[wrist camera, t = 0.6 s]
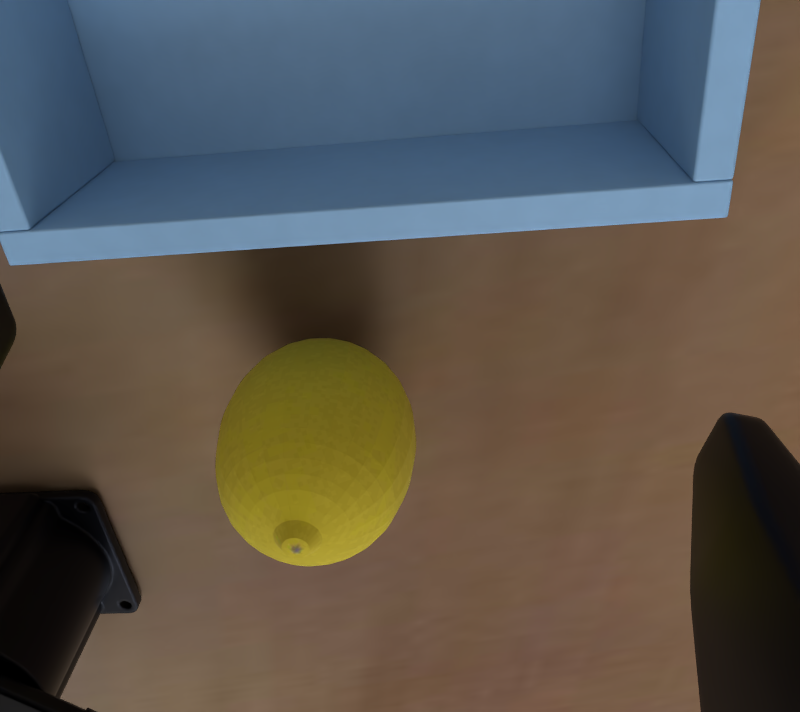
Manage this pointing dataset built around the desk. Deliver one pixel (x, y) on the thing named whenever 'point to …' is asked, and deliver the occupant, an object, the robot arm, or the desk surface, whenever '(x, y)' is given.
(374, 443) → the lemon
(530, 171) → the tote
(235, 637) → the desk surface
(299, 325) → the desk surface
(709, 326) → the desk surface
